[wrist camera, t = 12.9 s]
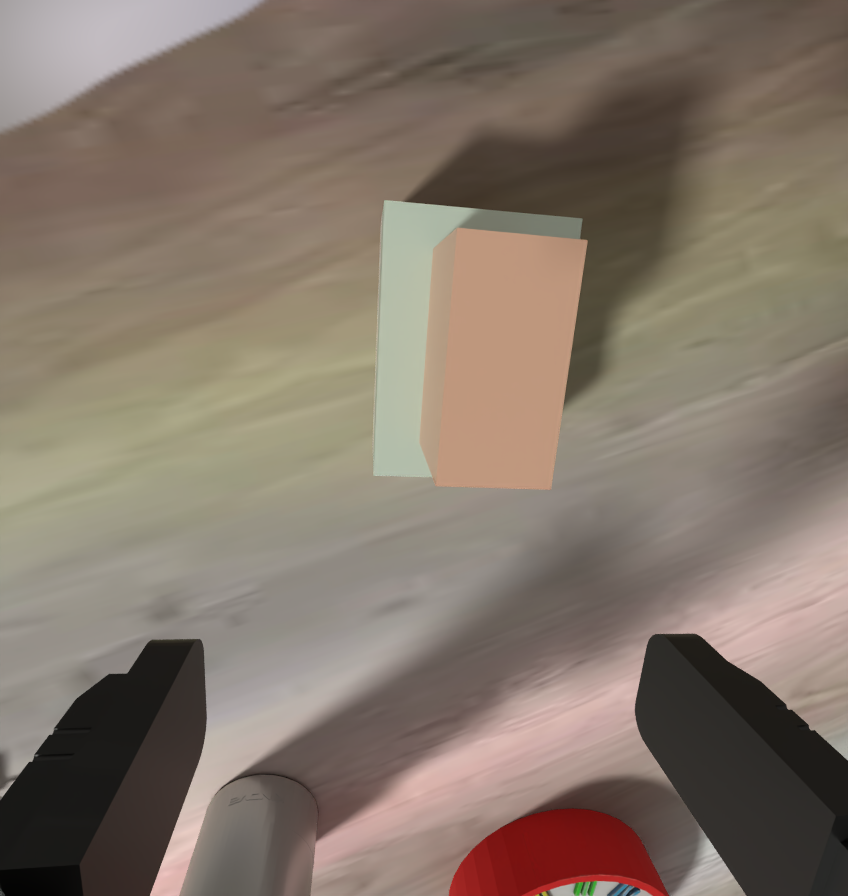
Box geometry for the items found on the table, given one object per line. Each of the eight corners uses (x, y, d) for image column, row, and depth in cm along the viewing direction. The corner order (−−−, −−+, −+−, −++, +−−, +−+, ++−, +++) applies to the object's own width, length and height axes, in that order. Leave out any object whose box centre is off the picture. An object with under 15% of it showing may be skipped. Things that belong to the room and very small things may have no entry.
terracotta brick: (530, 257, 26) (587, 239, 19) (507, 445, 28) (550, 489, 21) (433, 248, 25) (457, 227, 18) (419, 442, 28) (435, 486, 21)
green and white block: (513, 447, 36) (546, 480, 29) (372, 442, 34) (373, 475, 28) (537, 236, 32) (582, 218, 25) (380, 223, 31) (384, 200, 24)
